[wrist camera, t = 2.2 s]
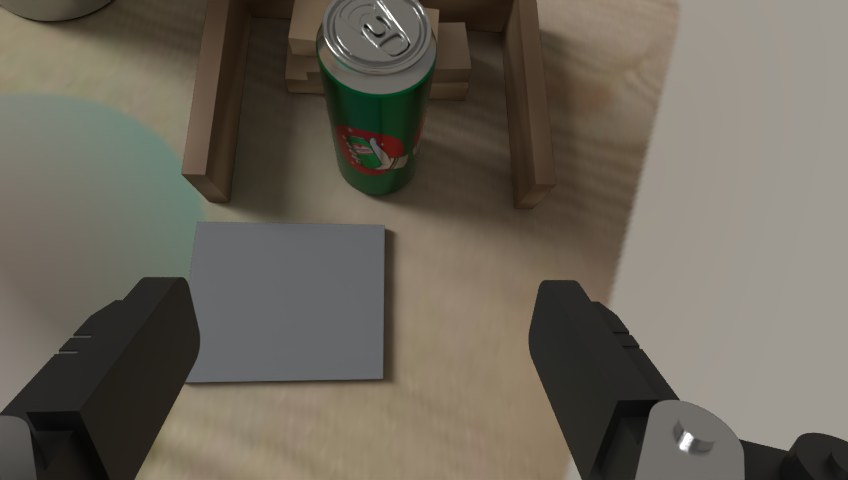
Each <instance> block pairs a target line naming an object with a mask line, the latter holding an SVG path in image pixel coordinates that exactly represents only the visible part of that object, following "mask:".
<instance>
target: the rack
mask: <svg viewBox="0 0 848 480" xmlns="http://www.w3.org/2000/svg"><path fill="white" fill-rule="evenodd" d="M418 1H419V2H420V3H421V4H422V6H423V7H424V8H430V9H438V10H439V21H438V23H463V22H465V28H466V30H472V31H488V32H501V37H502V50H503V63H504V76H505V89H506V102H507V114H508V127H509V140H510V153H511V166H512V179H513V191H514V204H515V209H533V208H534V207H535V206H536V205H537V204H538V203H539V202H540V201H541V200H542V199H543V198H544V197H545V196H546V195H547V193H548V192H549V191H550V190H551V189H552V188H553V187H554V186H555V185H556V178H555V169H554V159H553V150H552V141H551V132H550V122H549V113H548V104H547V95H546V85H545V76H544V67H543V58H542V48H541V39H540V30H539V21H538V11H537V2H536V0H418ZM294 2H295V0H208V3H207V10H206V16H205V23H204V29H203V36H202V42H201V49H200V55H199V62H198V68H197V75H196V81H195V88H194V94H193V101H192V107H191V113H190V120H189V126H188V133H187V139H186V146H185V152H184V159H183V165H182V172H181V174H182V175H183V176H184V177H185V178H186V179H187V180H188V181H189V182H190V183H191V184H192V185H193V186H194V187H195V188H196V189H197V190H198V191H199V192H200V193H201V194H202V195H203V196H204V197H205V198H206V199H207V200H208V201H209V202H230V195H231V186H232V178H233V169H234V161H235V152H236V144H237V135H238V127H239V118H240V110H241V102H242V93H243V85H244V76H245V68H246V59H247V51H248V42H249V34H250V25H251V17H268V18H284V19H292V14H293V8H294Z"/></svg>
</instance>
